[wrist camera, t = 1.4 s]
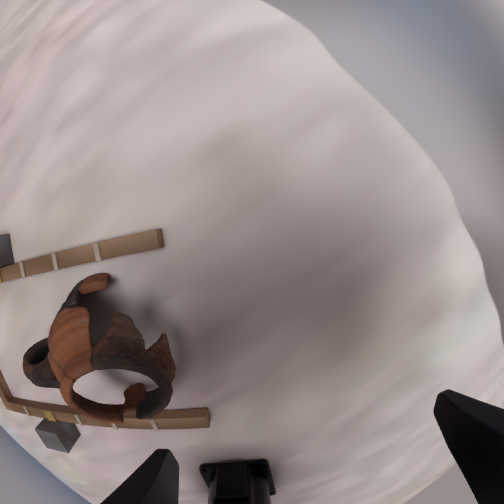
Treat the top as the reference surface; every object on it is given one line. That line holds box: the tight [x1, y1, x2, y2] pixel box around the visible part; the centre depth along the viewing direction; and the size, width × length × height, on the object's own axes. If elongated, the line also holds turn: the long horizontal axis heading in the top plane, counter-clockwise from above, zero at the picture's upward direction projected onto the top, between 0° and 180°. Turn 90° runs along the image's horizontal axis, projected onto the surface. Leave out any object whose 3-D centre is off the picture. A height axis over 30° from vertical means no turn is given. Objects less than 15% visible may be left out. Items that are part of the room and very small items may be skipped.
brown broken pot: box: [23, 273, 176, 424], centre depth 17 cm, size 12×10×8 cm
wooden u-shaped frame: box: [0, 229, 211, 453], centre depth 17 cm, size 21×25×3 cm
